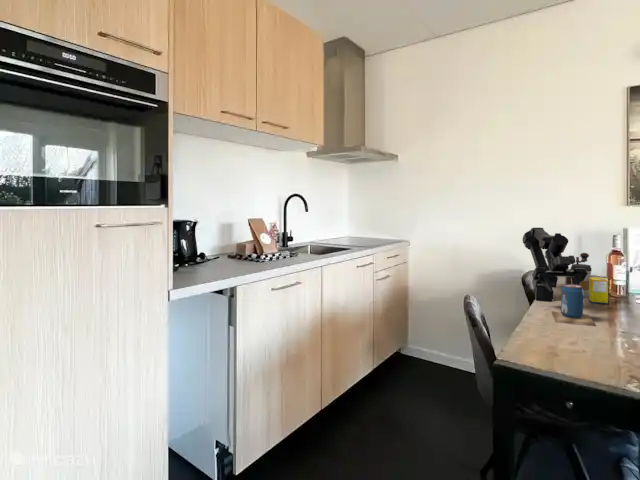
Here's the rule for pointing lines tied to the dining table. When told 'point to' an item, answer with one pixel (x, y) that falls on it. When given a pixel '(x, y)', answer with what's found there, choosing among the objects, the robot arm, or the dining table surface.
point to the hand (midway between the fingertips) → (564, 291)
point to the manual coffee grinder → (584, 259)
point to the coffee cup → (586, 281)
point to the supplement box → (598, 290)
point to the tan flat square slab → (583, 320)
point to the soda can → (572, 301)
